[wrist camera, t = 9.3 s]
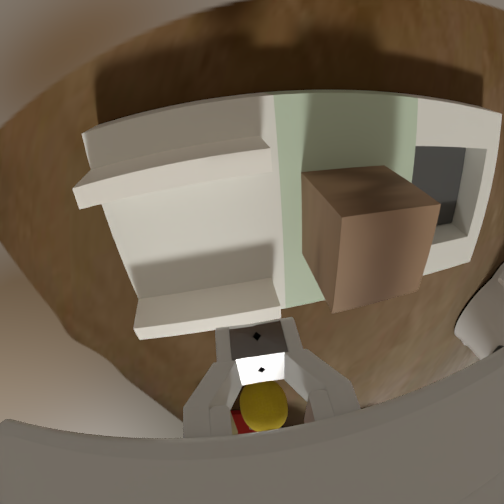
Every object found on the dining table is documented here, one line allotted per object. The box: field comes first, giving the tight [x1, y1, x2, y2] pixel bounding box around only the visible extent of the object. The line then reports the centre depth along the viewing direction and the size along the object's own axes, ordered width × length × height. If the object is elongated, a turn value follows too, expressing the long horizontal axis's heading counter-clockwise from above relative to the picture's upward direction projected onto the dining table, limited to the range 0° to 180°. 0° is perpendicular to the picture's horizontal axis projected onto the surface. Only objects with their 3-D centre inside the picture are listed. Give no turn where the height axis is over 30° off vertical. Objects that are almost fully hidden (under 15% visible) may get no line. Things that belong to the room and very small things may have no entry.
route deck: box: [72, 90, 502, 340], centre depth 19 cm, size 32×16×6 cm, turn 96°
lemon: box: [240, 381, 288, 432], centre depth 31 cm, size 6×6×8 cm
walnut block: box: [301, 165, 441, 313], centre depth 17 cm, size 6×6×6 cm
